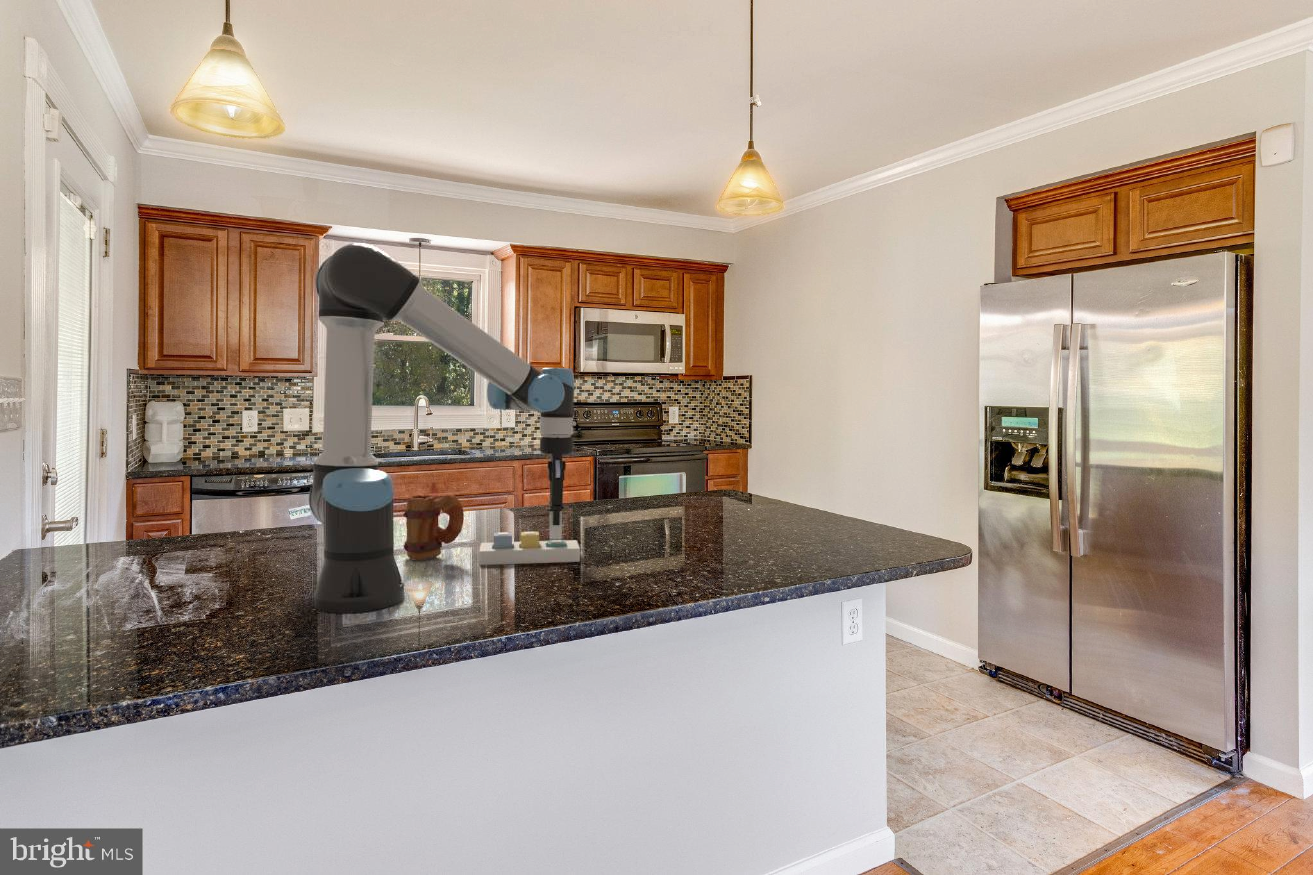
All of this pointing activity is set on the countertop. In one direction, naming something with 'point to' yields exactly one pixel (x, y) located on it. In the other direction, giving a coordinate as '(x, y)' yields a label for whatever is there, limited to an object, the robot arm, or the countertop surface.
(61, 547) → the countertop surface
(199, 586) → the countertop surface
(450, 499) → the mug
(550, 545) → the key
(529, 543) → the key
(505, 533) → the key
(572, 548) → the keypad
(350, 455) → the robot arm
